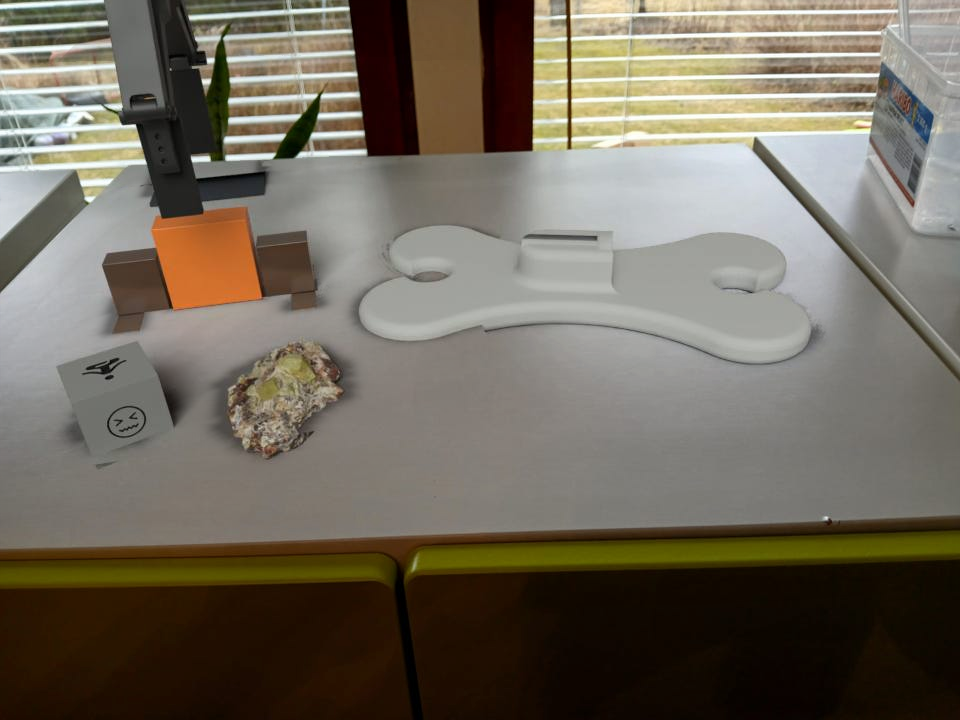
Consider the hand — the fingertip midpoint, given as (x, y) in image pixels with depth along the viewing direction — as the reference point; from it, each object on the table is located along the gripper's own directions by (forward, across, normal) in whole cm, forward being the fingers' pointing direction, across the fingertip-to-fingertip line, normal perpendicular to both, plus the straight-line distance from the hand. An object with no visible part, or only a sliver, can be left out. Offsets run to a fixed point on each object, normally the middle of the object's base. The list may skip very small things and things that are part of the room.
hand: (192, 181), depth 60 cm
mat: (+11, +31, +3) cm, 33 cm away
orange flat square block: (+10, 0, 0) cm, 10 cm away
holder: (+11, -6, -29) cm, 31 cm away
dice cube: (+11, -16, +5) cm, 20 cm away
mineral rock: (+11, -16, -5) cm, 20 cm away
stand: (+11, 0, 0) cm, 11 cm away
